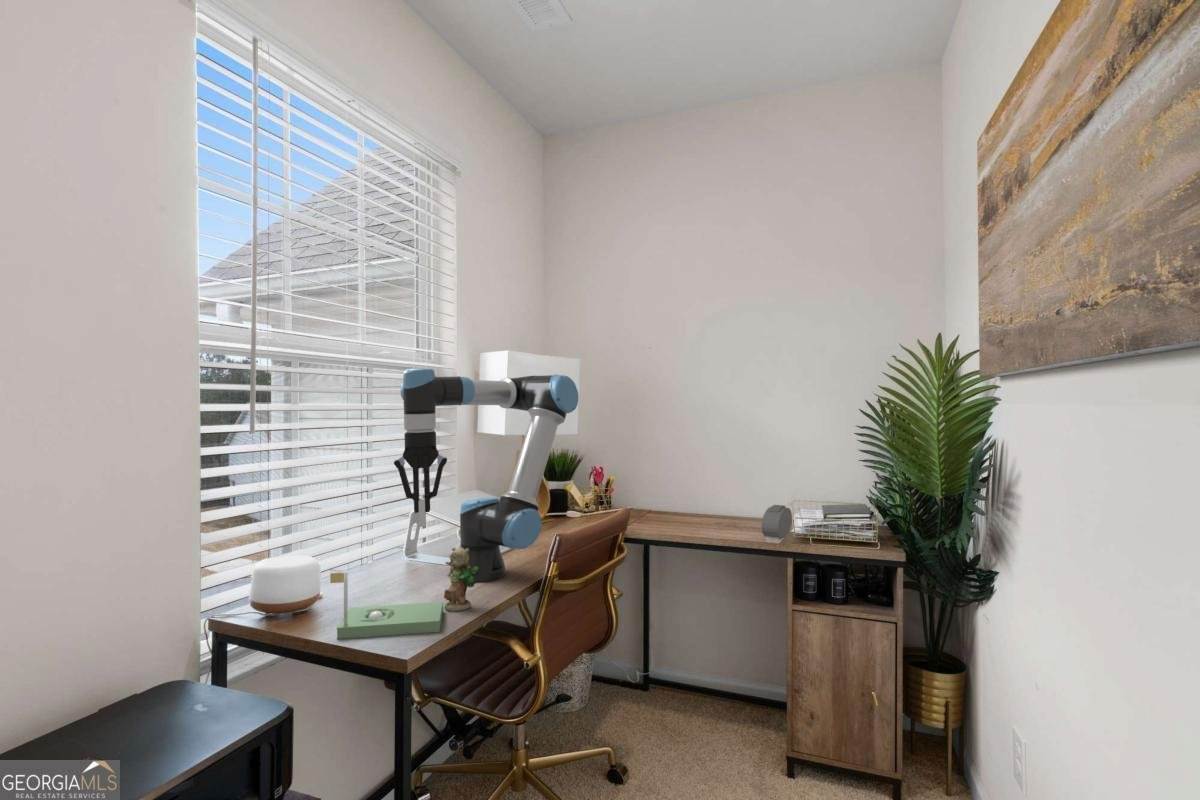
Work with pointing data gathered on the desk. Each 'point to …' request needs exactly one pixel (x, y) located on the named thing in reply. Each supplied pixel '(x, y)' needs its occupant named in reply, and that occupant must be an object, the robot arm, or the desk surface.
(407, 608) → the green
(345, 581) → the flag
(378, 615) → the ball
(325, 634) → the desk surface
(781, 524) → the alarm clock
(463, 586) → the figurine
